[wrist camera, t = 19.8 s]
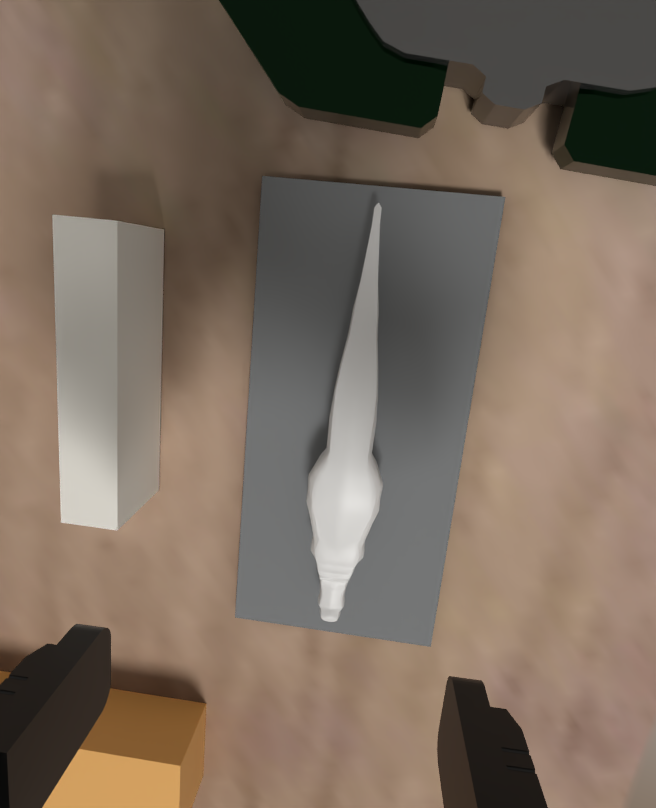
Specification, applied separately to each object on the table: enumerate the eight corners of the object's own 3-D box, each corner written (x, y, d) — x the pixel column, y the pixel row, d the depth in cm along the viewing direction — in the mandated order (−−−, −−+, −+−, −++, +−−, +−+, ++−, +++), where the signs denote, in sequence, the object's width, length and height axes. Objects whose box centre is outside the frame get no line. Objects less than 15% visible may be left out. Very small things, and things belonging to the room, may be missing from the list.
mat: (237, 611, 23) (235, 617, 22) (264, 177, 19) (262, 175, 18) (429, 639, 22) (430, 646, 22) (502, 198, 18) (505, 197, 18)
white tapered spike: (365, 605, 22) (363, 635, 20) (299, 595, 22) (291, 624, 20) (419, 209, 18) (422, 202, 16) (339, 201, 18) (334, 194, 16)
